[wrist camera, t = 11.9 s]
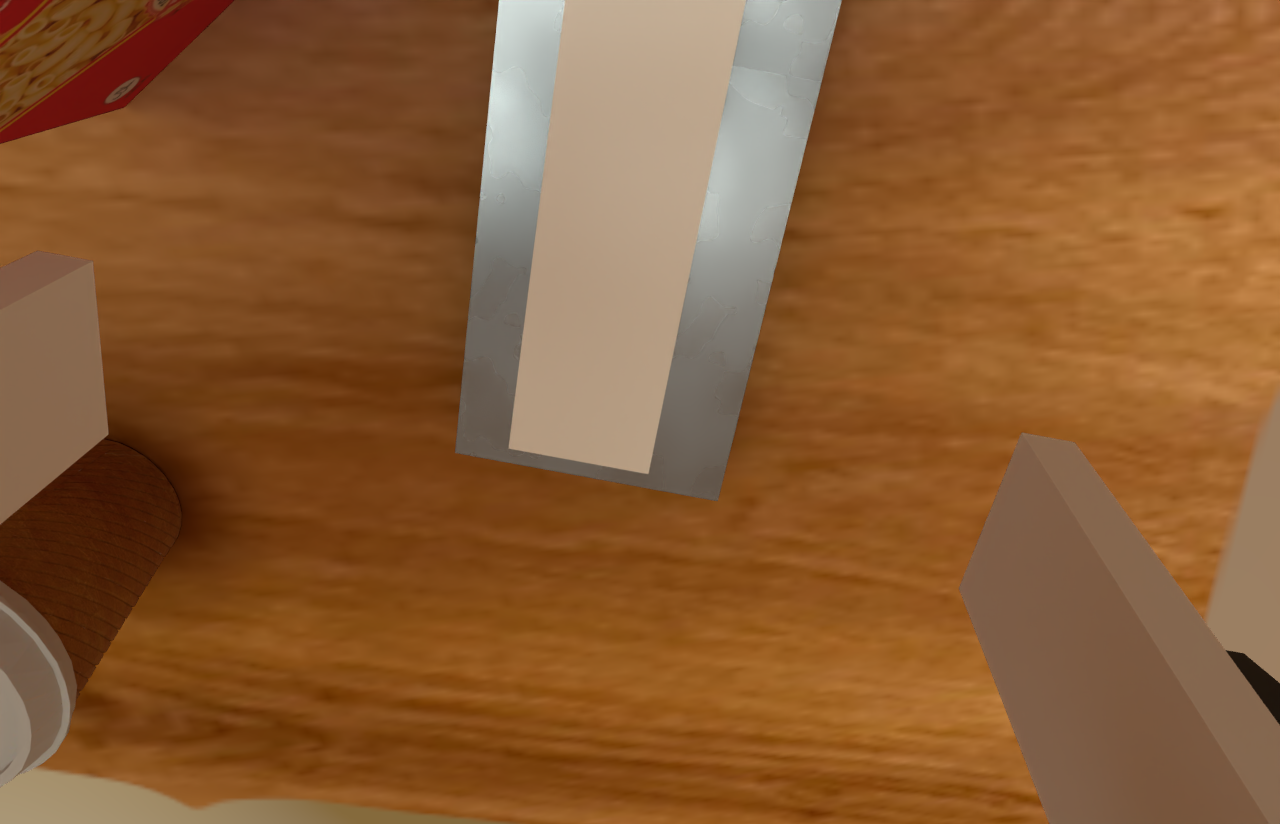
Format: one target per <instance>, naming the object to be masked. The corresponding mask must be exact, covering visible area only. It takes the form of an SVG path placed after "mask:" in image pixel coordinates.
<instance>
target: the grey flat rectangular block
mask: <svg viewBox="0 0 1280 824" xmlns="http://www.w3.org/2000/svg"><path fill="white" fill-rule="evenodd" d="M841 1H842V0H746V2H745V7H744V12H743V17H742V22H741V26H740V31H739V36H738V41H737V46H736V51H735V56H734V60H733V65H732V70H731V75H730V80H729V85H728V90H727V94H726V99H725V104H724V109H723V114H722V119H721V124H720V128H719V133H718V138H717V143H716V148H715V153H714V158H713V162H712V167H711V172H710V177H709V182H708V187H707V192H706V197H705V201H704V206H703V211H702V216H701V221H700V226H699V231H698V235H697V240H696V245H695V250H694V255H693V260H692V265H691V269H690V274H689V279H688V284H687V289H686V294H685V299H684V303H683V308H682V313H681V318H680V323H679V328H678V333H677V337H676V342H675V347H674V352H673V357H672V362H671V367H670V371H669V376H668V381H667V386H666V391H665V396H664V401H663V405H662V410H661V415H660V420H659V425H658V430H657V435H656V439H655V444H654V449H653V454H652V459H651V464H650V469H649V473H648V474H644V473H639V472H633V471H628V470H623V469H617V468H612V467H606V466H601V465H595V464H590V463H585V462H579V461H574V460H568V459H563V458H557V457H552V456H546V455H541V454H536V453H530V452H525V451H519V450H514V449H508V448H509V440H510V432H511V424H512V416H513V409H514V401H515V393H516V385H517V377H518V369H519V361H520V353H521V345H522V337H523V329H524V322H525V314H526V306H527V298H528V290H529V282H530V274H531V266H532V258H533V250H534V242H535V235H536V227H537V219H538V211H539V203H540V195H541V187H542V179H543V171H544V163H545V155H546V148H547V140H548V132H549V124H550V116H551V108H552V100H553V92H554V84H555V76H556V68H557V61H558V53H559V45H560V37H561V29H562V21H563V13H564V5H565V0H499V7H498V17H497V28H496V38H495V48H494V58H493V69H492V79H491V89H490V99H489V110H488V120H487V130H486V141H485V151H484V161H483V171H482V182H481V192H480V202H479V212H478V223H477V233H476V243H475V253H474V264H473V274H472V284H471V294H470V305H469V315H468V325H467V336H466V346H465V356H464V366H463V377H462V387H461V397H460V407H459V418H458V428H457V438H456V448H455V453H459V454H464V455H470V456H475V457H480V458H486V459H491V460H497V461H502V462H508V463H513V464H518V465H524V466H529V467H535V468H540V469H546V470H551V471H556V472H562V473H567V474H573V475H578V476H584V477H589V478H594V479H600V480H605V481H611V482H616V483H622V484H627V485H633V486H638V487H643V488H649V489H654V490H660V491H665V492H671V493H676V494H681V495H687V496H692V497H698V498H703V499H709V500H714V501H718V498H719V494H720V490H721V486H722V482H723V478H724V473H725V469H726V465H727V461H728V457H729V453H730V449H731V445H732V441H733V437H734V433H735V429H736V425H737V421H738V417H739V413H740V409H741V405H742V401H743V397H744V393H745V389H746V385H747V381H748V377H749V373H750V369H751V365H752V361H753V356H754V352H755V348H756V344H757V340H758V336H759V332H760V328H761V324H762V320H763V316H764V312H765V308H766V304H767V300H768V296H769V292H770V288H771V284H772V280H773V276H774V272H775V268H776V264H777V260H778V256H779V252H780V248H781V244H782V240H783V235H784V231H785V227H786V223H787V219H788V215H789V211H790V207H791V203H792V199H793V195H794V191H795V187H796V183H797V179H798V175H799V171H800V167H801V163H802V159H803V155H804V151H805V147H806V143H807V139H808V135H809V131H810V127H811V123H812V118H813V114H814V110H815V106H816V102H817V98H818V94H819V90H820V86H821V82H822V78H823V74H824V70H825V66H826V62H827V58H828V54H829V50H830V46H831V42H832V38H833V34H834V30H835V26H836V22H837V18H838V14H839V10H840V6H841Z"/></svg>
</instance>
